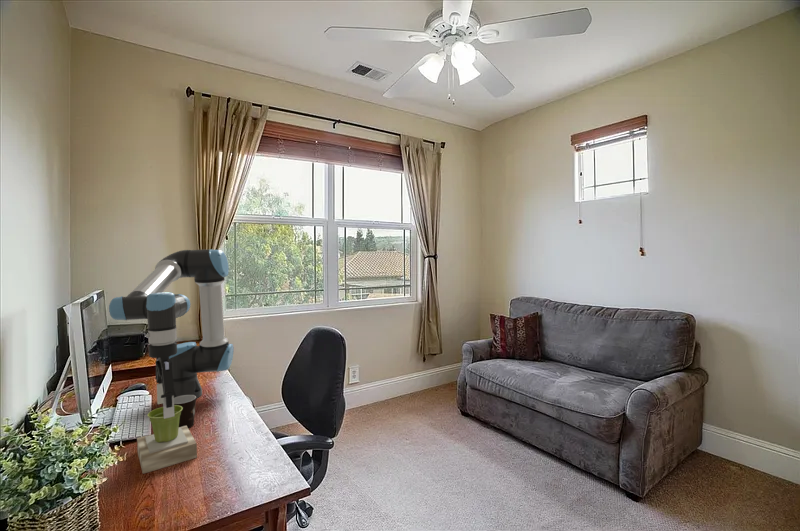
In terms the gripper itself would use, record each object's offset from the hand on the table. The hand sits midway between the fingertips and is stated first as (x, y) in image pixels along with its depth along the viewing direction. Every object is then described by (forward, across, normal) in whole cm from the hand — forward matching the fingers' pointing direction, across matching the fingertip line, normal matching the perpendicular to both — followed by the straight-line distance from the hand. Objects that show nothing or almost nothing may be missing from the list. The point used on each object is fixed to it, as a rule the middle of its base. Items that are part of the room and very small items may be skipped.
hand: (165, 409), depth 121 cm
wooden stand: (+14, 0, 0) cm, 14 cm away
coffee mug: (+15, -20, +9) cm, 26 cm away
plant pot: (+9, 0, 0) cm, 9 cm away
